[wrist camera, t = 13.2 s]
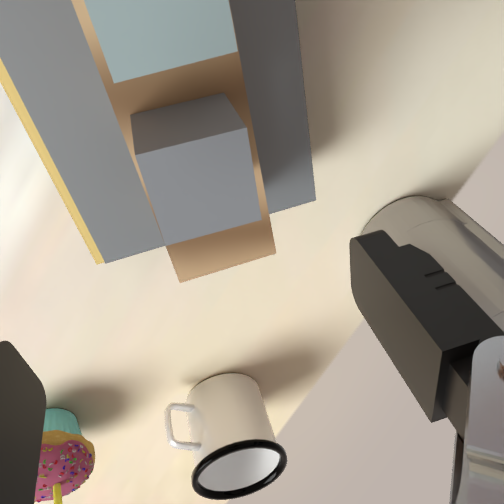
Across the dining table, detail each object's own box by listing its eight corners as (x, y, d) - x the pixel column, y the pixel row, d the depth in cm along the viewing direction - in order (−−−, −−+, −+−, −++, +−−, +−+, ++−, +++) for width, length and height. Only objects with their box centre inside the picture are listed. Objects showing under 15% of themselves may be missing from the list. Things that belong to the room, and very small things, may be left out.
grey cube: (223, 92, 19) (246, 127, 16) (239, 175, 21) (261, 219, 18) (130, 115, 19) (134, 155, 15) (156, 197, 21) (165, 245, 18)
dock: (224, -332, 20) (253, -392, 16) (293, 168, 35) (315, 200, 32) (-143, -263, 18) (-209, -310, 14) (97, 226, 34) (96, 266, 30)
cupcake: (69, 384, 43) (60, 514, 34) (110, 427, 49) (112, 549, 39) (-15, 418, 43) (-49, 557, 34) (35, 457, 48) (18, 587, 39)
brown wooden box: (-4, -249, 16) (-53, -321, 11) (145, -278, 17) (161, -359, 12) (167, 219, 29) (180, 282, 24) (247, 196, 30) (276, 253, 25)
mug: (278, 375, 51) (306, 449, 44) (236, 426, 55) (256, 501, 48) (182, 356, 45) (196, 438, 38) (143, 414, 49) (149, 498, 42)
